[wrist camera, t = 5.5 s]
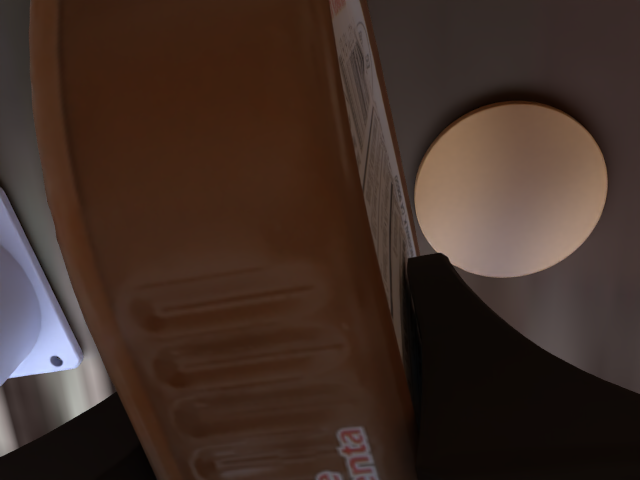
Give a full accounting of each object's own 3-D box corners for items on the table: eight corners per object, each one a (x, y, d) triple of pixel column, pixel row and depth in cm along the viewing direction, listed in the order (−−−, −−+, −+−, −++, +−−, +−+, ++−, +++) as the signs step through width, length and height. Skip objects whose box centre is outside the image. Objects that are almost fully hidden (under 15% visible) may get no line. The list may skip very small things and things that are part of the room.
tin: (207, -102, 11) (-248, -175, 4) (375, -154, 10) (215, -377, 3) (370, 492, 17) (318, 916, 10) (486, 488, 16) (524, 947, 9)
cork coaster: (430, 284, 22) (430, 290, 21) (398, 122, 19) (398, 125, 19) (608, 257, 21) (612, 262, 20) (598, 81, 18) (603, 83, 18)
